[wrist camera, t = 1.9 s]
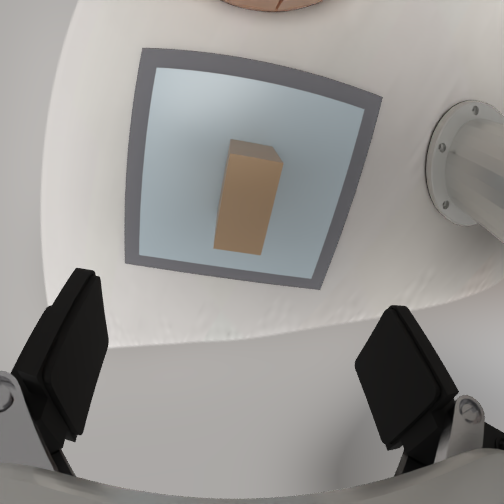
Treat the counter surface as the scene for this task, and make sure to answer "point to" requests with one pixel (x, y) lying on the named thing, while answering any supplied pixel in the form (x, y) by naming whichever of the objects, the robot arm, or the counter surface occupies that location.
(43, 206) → the counter surface
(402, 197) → the counter surface
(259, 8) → the bowl
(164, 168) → the sheet
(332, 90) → the mat
